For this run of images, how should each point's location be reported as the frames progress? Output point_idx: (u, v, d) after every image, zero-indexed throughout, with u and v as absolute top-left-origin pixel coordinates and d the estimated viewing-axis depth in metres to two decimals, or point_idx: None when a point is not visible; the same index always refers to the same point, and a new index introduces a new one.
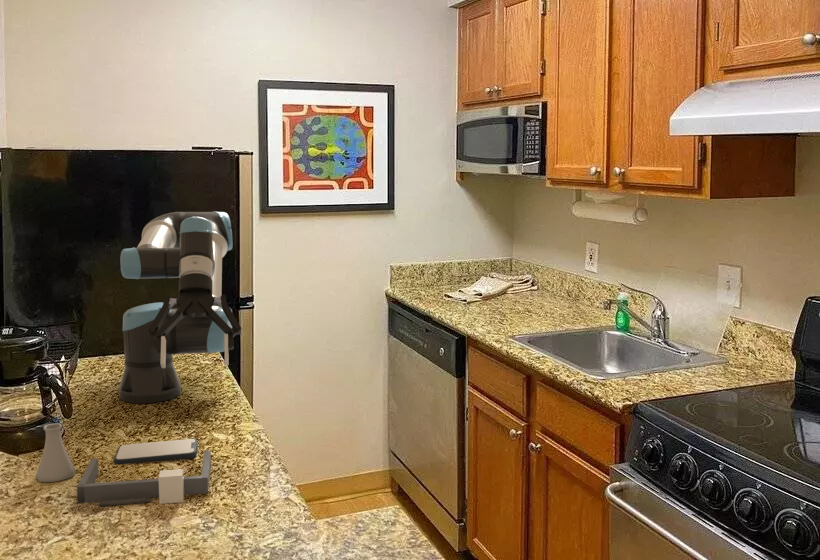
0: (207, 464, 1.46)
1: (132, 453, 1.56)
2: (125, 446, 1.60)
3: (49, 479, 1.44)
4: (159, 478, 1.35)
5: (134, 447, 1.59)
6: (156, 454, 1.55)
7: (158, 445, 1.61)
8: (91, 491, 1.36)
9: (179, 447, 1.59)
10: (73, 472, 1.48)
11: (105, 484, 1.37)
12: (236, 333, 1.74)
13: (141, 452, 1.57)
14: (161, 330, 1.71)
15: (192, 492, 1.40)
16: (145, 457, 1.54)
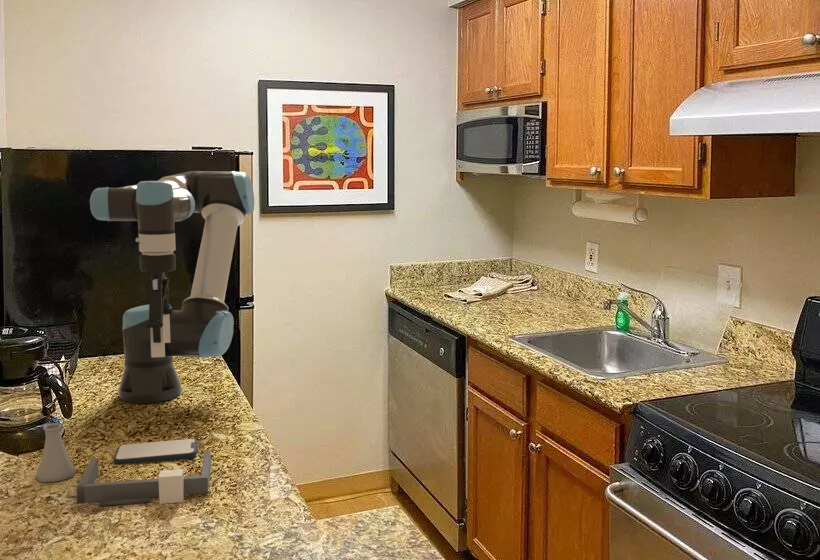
0: (207, 464, 1.46)
1: (132, 453, 1.56)
2: (125, 446, 1.60)
3: (49, 479, 1.44)
4: (159, 478, 1.35)
5: (134, 447, 1.59)
6: (155, 454, 1.55)
7: (158, 445, 1.61)
8: (91, 491, 1.36)
9: (179, 447, 1.59)
10: (73, 472, 1.48)
11: (105, 484, 1.37)
12: (155, 326, 1.60)
13: (141, 452, 1.57)
14: None
15: (192, 492, 1.40)
16: (145, 457, 1.54)
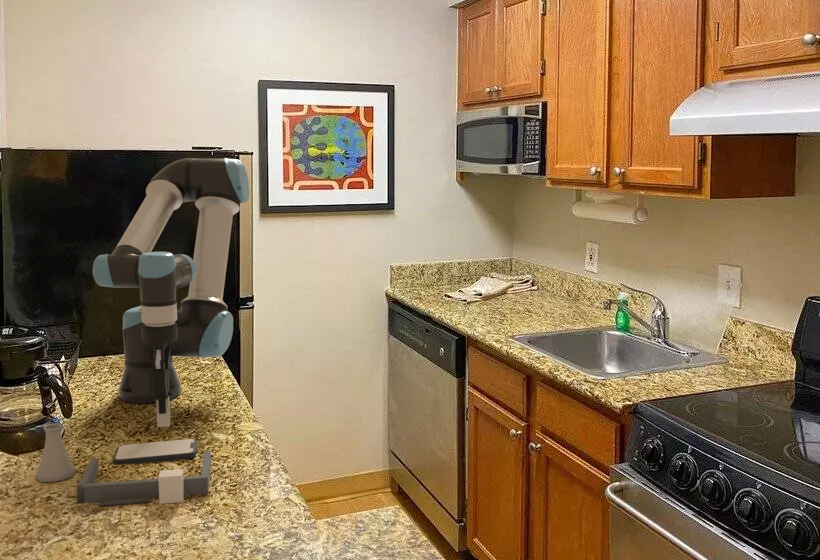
0: (207, 464, 1.46)
1: (131, 454, 1.56)
2: (124, 446, 1.60)
3: (49, 479, 1.44)
4: (159, 478, 1.35)
5: (133, 447, 1.59)
6: (155, 454, 1.55)
7: (158, 445, 1.61)
8: (91, 491, 1.36)
9: (178, 447, 1.59)
10: (73, 472, 1.48)
11: (105, 484, 1.37)
12: (160, 399, 1.68)
13: (140, 452, 1.57)
14: None
15: (192, 492, 1.40)
16: (144, 457, 1.54)
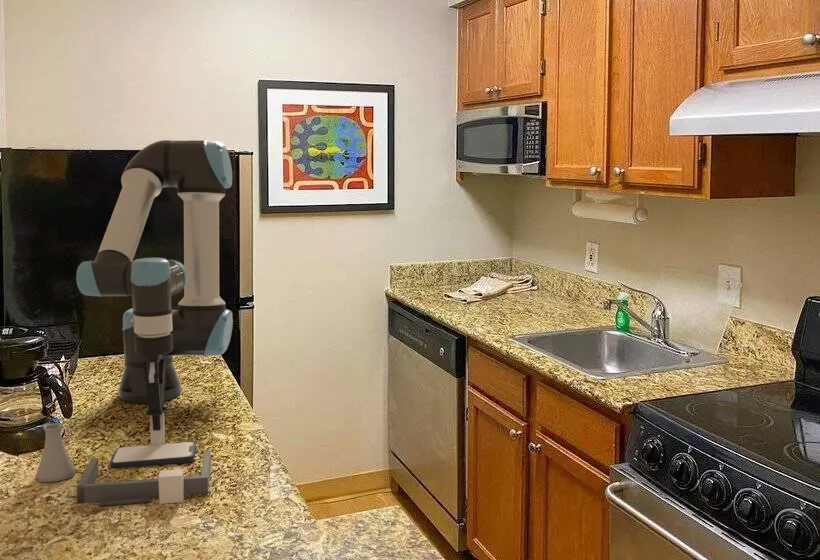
0: (207, 464, 1.46)
1: (129, 457, 1.54)
2: (123, 449, 1.58)
3: (49, 479, 1.44)
4: (159, 478, 1.35)
5: (131, 450, 1.57)
6: (153, 458, 1.53)
7: (156, 448, 1.59)
8: (91, 491, 1.36)
9: (177, 450, 1.57)
10: (73, 472, 1.48)
11: (105, 484, 1.37)
12: (154, 415, 1.58)
13: (138, 455, 1.55)
14: None
15: (192, 492, 1.40)
16: (142, 460, 1.52)
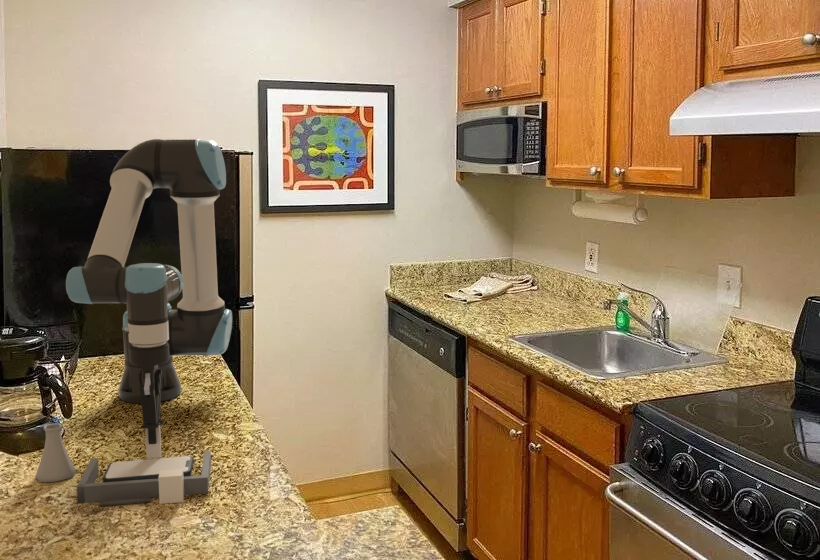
0: (207, 464, 1.46)
1: (123, 472, 1.47)
2: (116, 464, 1.51)
3: (49, 479, 1.44)
4: (159, 478, 1.35)
5: (125, 465, 1.50)
6: (147, 473, 1.46)
7: (151, 462, 1.51)
8: (91, 491, 1.36)
9: (173, 465, 1.50)
10: (73, 472, 1.48)
11: (105, 484, 1.37)
12: (150, 428, 1.50)
13: (132, 471, 1.47)
14: None
15: (192, 492, 1.40)
16: (136, 476, 1.45)
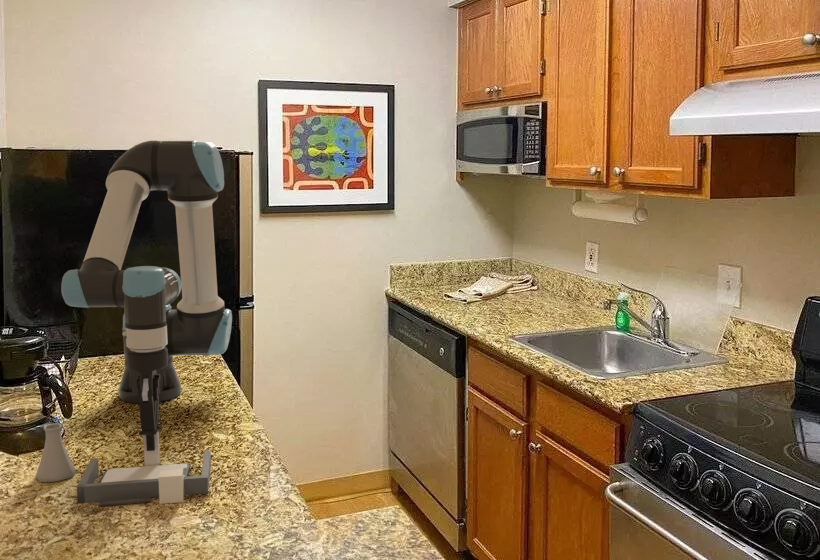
0: (207, 464, 1.46)
1: (118, 480, 1.44)
2: (112, 471, 1.48)
3: (49, 479, 1.44)
4: (159, 478, 1.35)
5: (121, 472, 1.47)
6: None
7: (147, 470, 1.48)
8: (91, 491, 1.36)
9: None
10: (73, 472, 1.48)
11: (105, 484, 1.37)
12: (148, 434, 1.47)
13: (127, 478, 1.44)
14: None
15: (192, 492, 1.40)
16: None
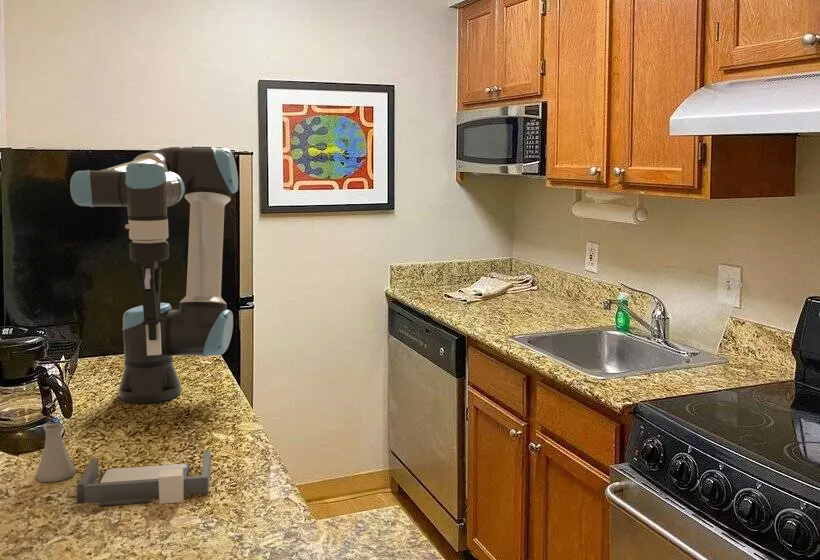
0: (207, 464, 1.46)
1: (117, 480, 1.44)
2: (111, 471, 1.48)
3: (49, 479, 1.44)
4: (159, 478, 1.35)
5: (120, 472, 1.47)
6: None
7: (147, 470, 1.48)
8: (91, 491, 1.36)
9: None
10: (73, 472, 1.48)
11: (105, 484, 1.37)
12: (150, 323, 1.54)
13: (127, 478, 1.44)
14: None
15: (192, 492, 1.40)
16: None
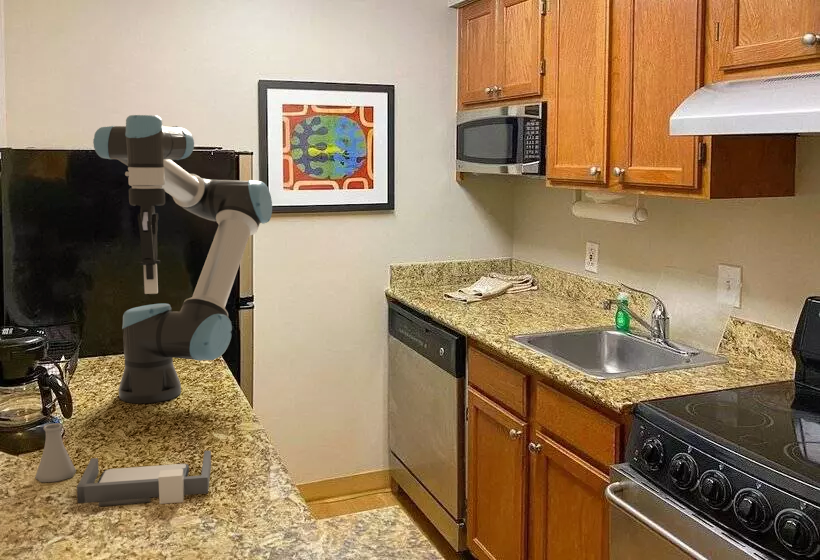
0: (207, 464, 1.46)
1: (116, 480, 1.44)
2: (110, 471, 1.48)
3: (49, 479, 1.44)
4: (159, 478, 1.35)
5: (120, 472, 1.47)
6: None
7: (146, 470, 1.48)
8: (91, 491, 1.36)
9: None
10: (73, 472, 1.48)
11: (105, 484, 1.37)
12: (148, 263, 1.68)
13: (126, 478, 1.44)
14: None
15: (192, 492, 1.40)
16: None
